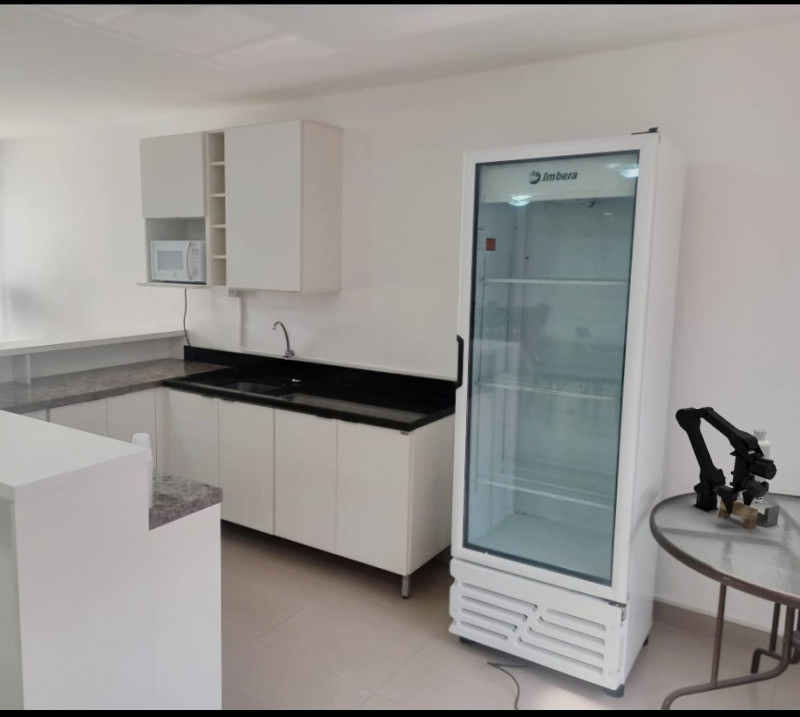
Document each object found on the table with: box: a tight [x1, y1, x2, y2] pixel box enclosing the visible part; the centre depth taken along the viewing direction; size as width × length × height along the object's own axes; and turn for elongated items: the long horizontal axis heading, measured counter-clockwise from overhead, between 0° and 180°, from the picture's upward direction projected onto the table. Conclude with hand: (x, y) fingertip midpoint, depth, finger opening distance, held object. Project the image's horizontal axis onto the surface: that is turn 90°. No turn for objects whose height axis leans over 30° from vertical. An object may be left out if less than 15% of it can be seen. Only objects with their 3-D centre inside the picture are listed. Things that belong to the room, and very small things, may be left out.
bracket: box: [731, 504, 780, 528], centre depth 233 cm, size 15×7×7 cm, turn 27°
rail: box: [719, 498, 759, 521], centre depth 229 cm, size 12×4×4 cm, turn 27°
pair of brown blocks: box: [718, 507, 758, 530], centre depth 230 cm, size 12×4×3 cm, turn 27°
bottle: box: [739, 428, 771, 502], centre depth 248 cm, size 8×8×28 cm
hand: (737, 511), depth 229 cm, fingers open, 9 cm apart
